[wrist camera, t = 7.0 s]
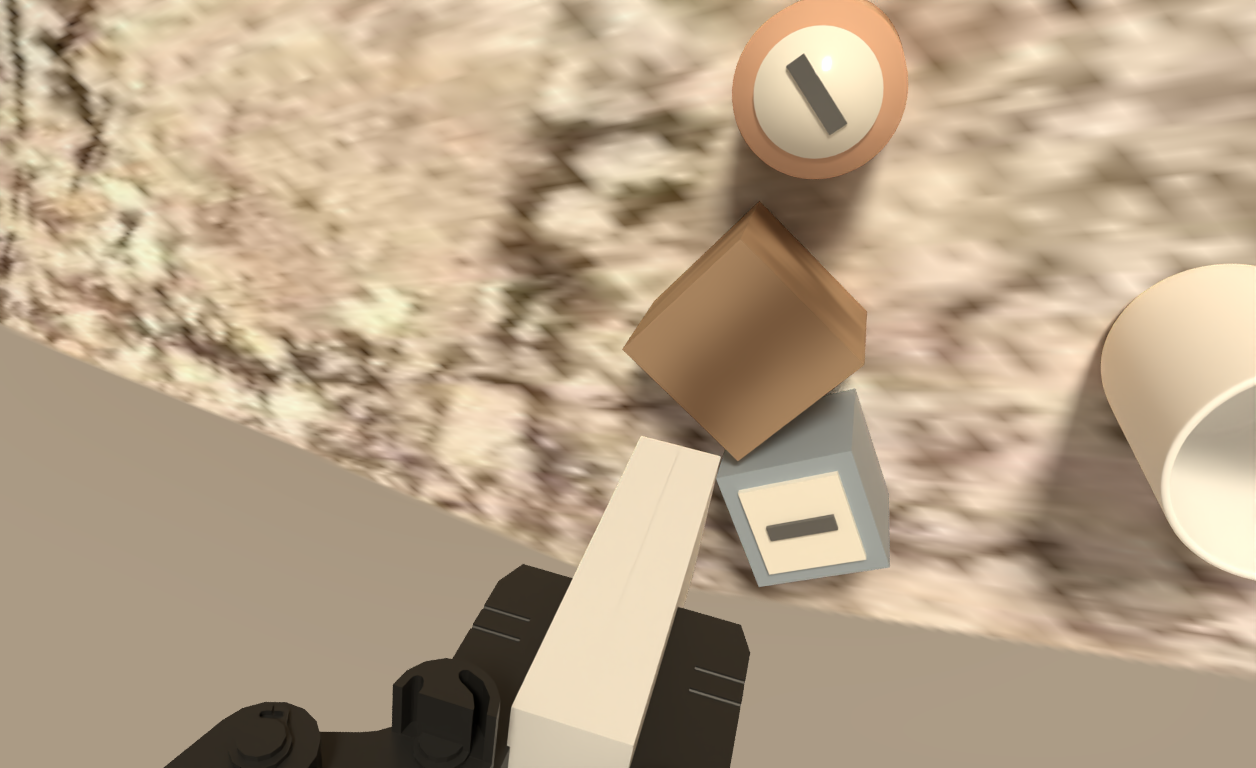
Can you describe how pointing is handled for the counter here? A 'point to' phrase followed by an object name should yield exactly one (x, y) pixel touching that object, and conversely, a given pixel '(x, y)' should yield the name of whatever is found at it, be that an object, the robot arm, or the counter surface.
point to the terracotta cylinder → (821, 87)
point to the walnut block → (751, 334)
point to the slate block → (811, 496)
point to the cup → (1193, 405)
